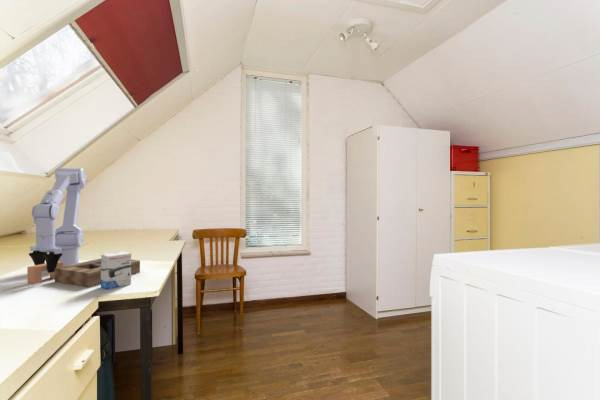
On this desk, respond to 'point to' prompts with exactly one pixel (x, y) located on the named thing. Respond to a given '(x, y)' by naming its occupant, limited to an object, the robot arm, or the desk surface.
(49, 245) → the robot arm
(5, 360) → the desk surface
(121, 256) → the ink box
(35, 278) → the pink notched block
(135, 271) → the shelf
